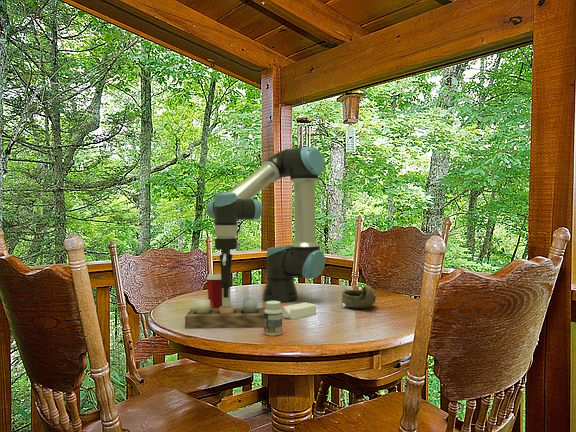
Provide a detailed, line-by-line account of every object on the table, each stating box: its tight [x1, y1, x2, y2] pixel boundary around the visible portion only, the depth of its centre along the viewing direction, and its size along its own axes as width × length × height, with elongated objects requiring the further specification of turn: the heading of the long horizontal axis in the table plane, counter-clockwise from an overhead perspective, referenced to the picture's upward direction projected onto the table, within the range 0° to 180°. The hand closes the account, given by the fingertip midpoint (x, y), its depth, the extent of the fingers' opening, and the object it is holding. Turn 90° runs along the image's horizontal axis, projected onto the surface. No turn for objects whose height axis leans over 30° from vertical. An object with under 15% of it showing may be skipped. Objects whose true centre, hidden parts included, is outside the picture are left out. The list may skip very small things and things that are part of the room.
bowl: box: [341, 285, 377, 309], centre depth 179 cm, size 14×18×10 cm
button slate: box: [242, 298, 258, 313], centre depth 157 cm, size 5×5×4 cm
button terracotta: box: [220, 305, 235, 314], centre depth 157 cm, size 5×5×4 cm
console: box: [184, 307, 266, 329], centre depth 157 cm, size 26×12×4 cm, turn 92°
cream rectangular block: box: [282, 301, 317, 320], centre depth 167 cm, size 6×13×4 cm, turn 135°
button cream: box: [195, 298, 210, 314], centre depth 156 cm, size 5×5×4 cm
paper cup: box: [205, 273, 222, 308], centre depth 176 cm, size 8×8×14 cm
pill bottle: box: [263, 301, 283, 337], centre depth 143 cm, size 6×6×10 cm
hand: (226, 306), depth 157 cm, fingers closed
